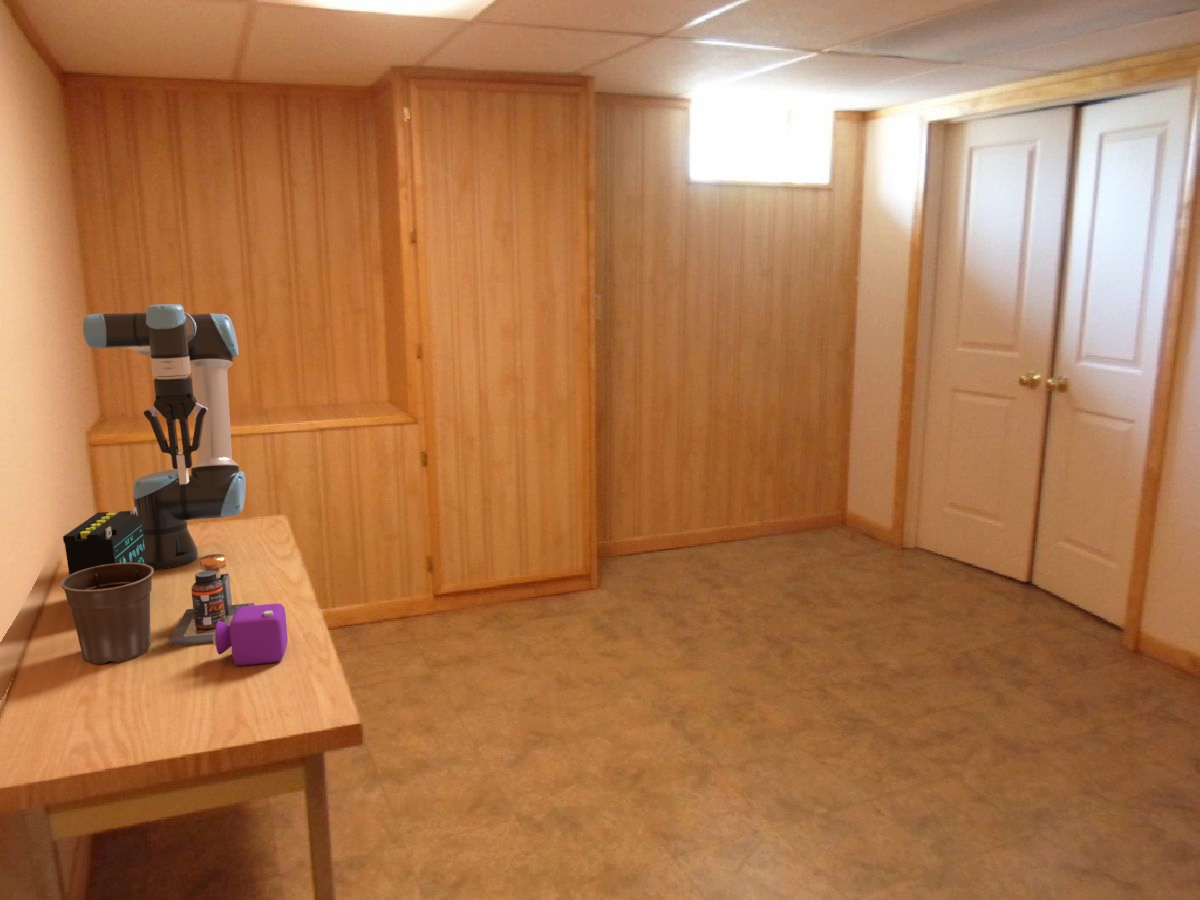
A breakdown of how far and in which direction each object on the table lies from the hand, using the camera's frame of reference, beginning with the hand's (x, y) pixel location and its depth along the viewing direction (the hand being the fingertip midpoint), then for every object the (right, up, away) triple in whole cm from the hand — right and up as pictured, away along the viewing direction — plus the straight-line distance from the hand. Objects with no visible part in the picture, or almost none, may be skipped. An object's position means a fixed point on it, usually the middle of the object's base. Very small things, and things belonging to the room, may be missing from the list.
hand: (184, 482), depth 203 cm
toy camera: (+24, -34, -23) cm, 47 cm away
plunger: (+8, -23, -4) cm, 25 cm away
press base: (+10, -30, -8) cm, 33 cm away
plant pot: (-4, -33, -19) cm, 39 cm away
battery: (-19, -28, +7) cm, 35 cm away
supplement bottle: (+11, -30, -11) cm, 33 cm away
